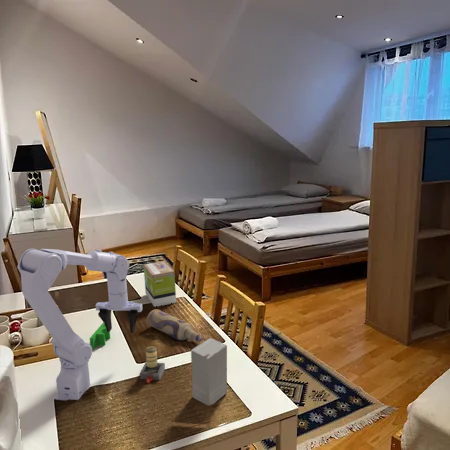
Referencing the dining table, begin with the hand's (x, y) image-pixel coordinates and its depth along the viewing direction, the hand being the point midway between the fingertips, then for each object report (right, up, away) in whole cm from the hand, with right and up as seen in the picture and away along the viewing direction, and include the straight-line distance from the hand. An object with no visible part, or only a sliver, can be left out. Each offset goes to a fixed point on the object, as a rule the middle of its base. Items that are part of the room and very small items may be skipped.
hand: (121, 331), depth 134 cm
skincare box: (+29, -14, -17) cm, 36 cm away
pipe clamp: (-10, -8, +15) cm, 19 cm away
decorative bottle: (+14, -7, +18) cm, 24 cm away
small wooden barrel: (+11, -8, -7) cm, 16 cm away
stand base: (+11, -12, -6) cm, 18 cm away
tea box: (+5, +1, +50) cm, 50 cm away
